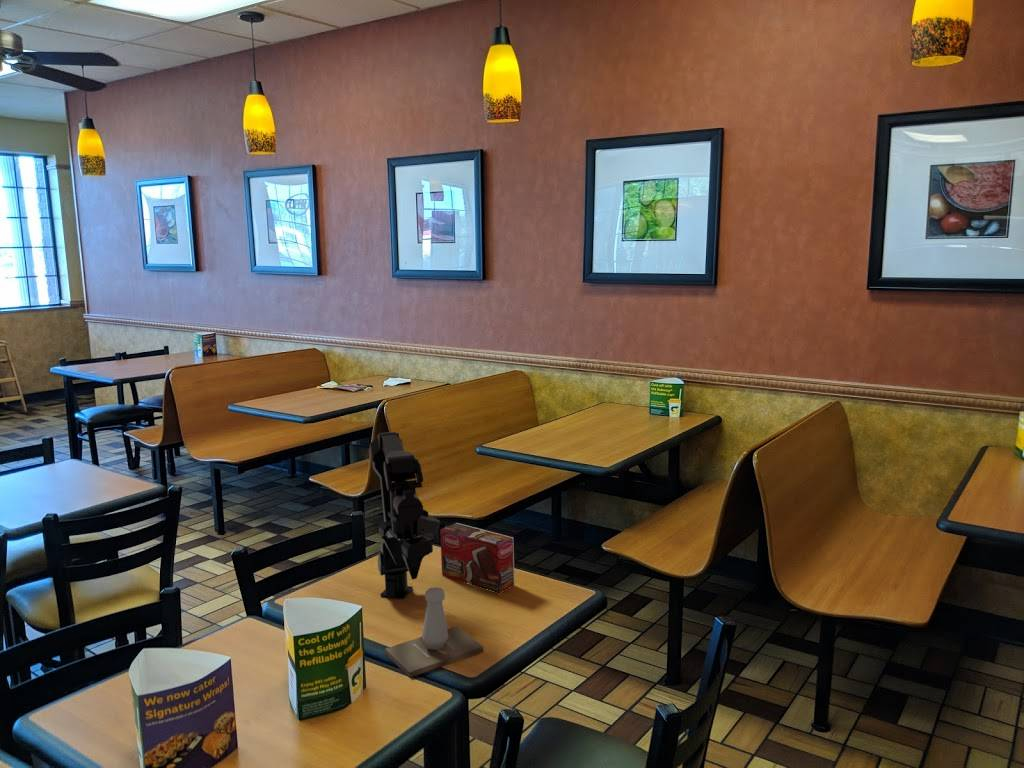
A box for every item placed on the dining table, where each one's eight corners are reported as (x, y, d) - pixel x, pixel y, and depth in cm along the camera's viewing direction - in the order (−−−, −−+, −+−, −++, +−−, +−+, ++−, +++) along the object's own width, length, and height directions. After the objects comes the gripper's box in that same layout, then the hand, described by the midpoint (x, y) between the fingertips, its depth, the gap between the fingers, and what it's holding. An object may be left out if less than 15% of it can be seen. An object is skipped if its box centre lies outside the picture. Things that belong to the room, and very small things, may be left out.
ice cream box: (514, 585, 205) (513, 537, 203) (499, 594, 200) (497, 545, 198) (457, 568, 217) (456, 522, 215) (442, 576, 212) (440, 529, 210)
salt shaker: (442, 653, 168) (442, 596, 167) (418, 650, 170) (417, 593, 168) (452, 641, 174) (451, 586, 172) (428, 638, 176) (427, 583, 174)
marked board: (456, 630, 181) (456, 625, 181) (483, 651, 172) (483, 646, 171) (385, 653, 172) (384, 648, 171) (409, 677, 162) (409, 671, 162)
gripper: (452, 512, 176) (455, 577, 179) (418, 492, 192) (421, 552, 195) (406, 522, 171) (410, 589, 174) (376, 500, 187) (379, 561, 189)
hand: (406, 572), depth 183 cm, fingers open, 9 cm apart
